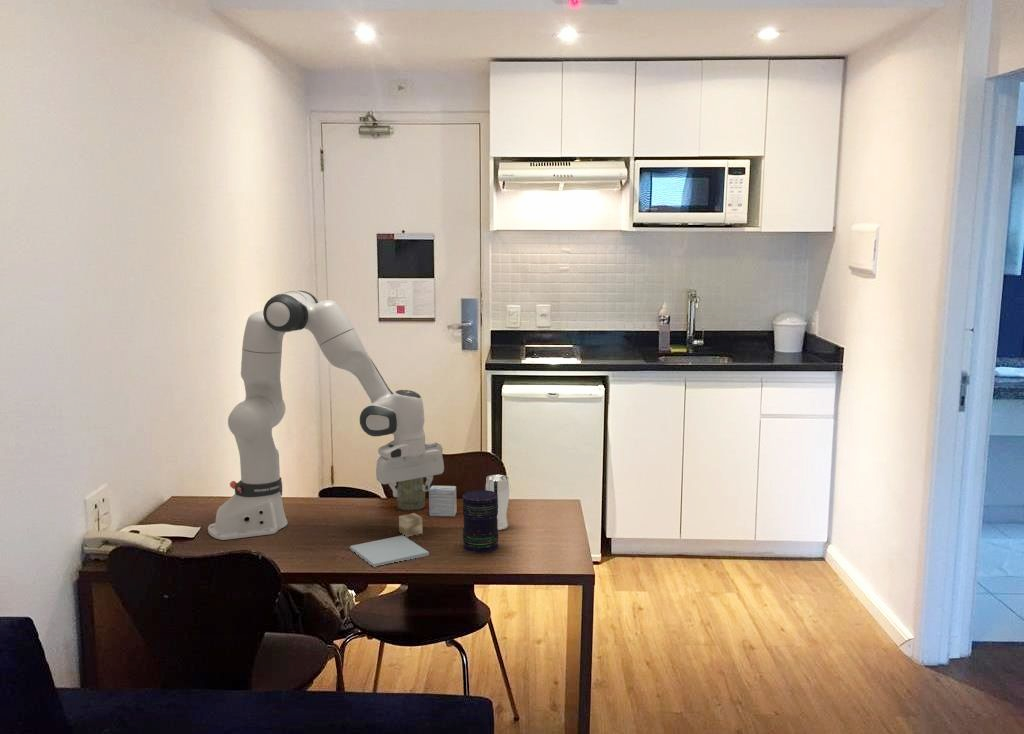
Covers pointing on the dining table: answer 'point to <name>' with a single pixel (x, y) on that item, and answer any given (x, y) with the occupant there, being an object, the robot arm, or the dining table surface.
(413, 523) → the birch cube
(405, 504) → the thermos
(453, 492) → the medicine box
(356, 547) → the mat
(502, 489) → the beer glass
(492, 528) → the storage jar
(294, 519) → the dining table surface
